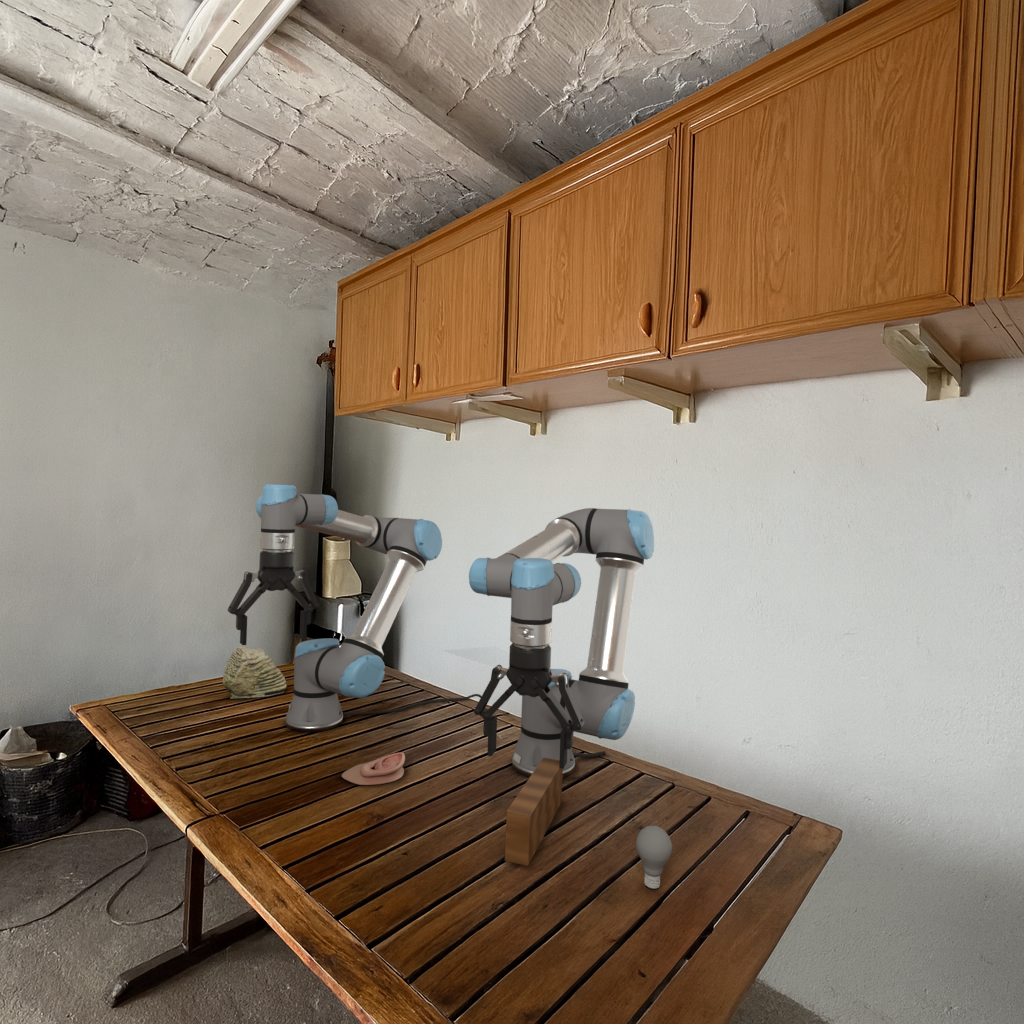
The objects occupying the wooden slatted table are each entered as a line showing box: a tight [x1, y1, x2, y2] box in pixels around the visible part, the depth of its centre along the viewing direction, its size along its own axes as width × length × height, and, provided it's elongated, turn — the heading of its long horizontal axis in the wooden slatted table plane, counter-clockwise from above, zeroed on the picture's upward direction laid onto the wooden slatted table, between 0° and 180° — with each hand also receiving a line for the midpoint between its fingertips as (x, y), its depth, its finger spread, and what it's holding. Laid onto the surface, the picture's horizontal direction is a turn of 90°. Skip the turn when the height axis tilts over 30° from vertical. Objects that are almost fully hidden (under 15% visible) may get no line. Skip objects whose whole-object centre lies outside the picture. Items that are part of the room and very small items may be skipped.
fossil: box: [222, 646, 288, 699], centre depth 198 cm, size 9×18×15 cm, turn 132°
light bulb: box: [635, 825, 673, 889], centre depth 107 cm, size 6×6×10 cm
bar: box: [504, 758, 563, 867], centre depth 124 cm, size 25×4×9 cm, turn 162°
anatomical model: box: [341, 751, 406, 786], centre depth 145 cm, size 13×4×12 cm
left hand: (273, 641), depth 148 cm, fingers open, 13 cm apart
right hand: (526, 759), depth 116 cm, fingers open, 13 cm apart
